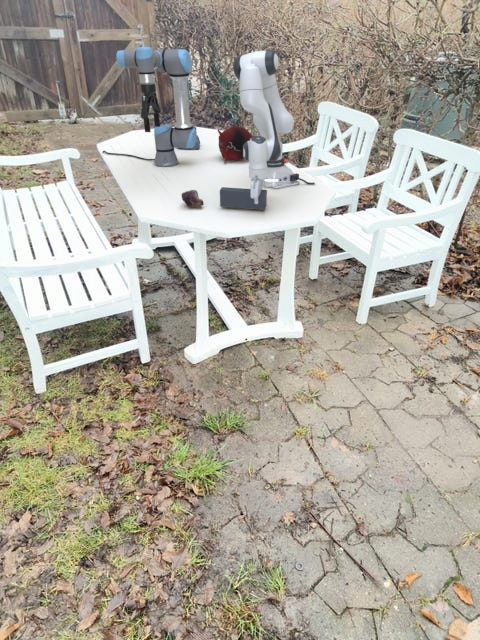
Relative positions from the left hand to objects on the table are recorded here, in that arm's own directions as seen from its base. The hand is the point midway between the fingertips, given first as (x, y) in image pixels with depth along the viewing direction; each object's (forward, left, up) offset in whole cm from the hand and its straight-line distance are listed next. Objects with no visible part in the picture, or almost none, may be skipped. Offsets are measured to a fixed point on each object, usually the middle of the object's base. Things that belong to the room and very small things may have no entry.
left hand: (152, 129), depth 234 cm
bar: (+56, +9, -30) cm, 64 cm away
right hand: (+62, +13, -27) cm, 69 cm away
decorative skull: (-11, +74, -32) cm, 82 cm away
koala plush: (-59, +74, -32) cm, 100 cm away
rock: (+33, -6, -32) cm, 46 cm away
